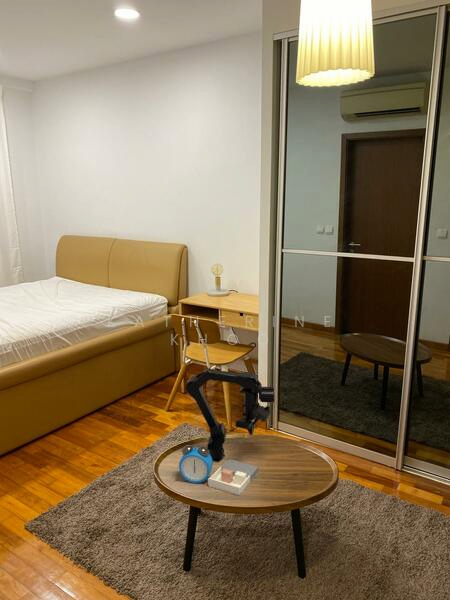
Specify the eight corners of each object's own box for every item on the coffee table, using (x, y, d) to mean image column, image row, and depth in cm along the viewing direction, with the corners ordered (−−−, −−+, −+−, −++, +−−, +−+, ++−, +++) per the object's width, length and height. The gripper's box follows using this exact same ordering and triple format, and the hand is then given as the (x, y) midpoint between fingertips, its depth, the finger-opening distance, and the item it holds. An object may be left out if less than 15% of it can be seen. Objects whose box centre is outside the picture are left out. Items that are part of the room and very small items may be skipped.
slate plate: (220, 473, 194) (220, 468, 193) (229, 464, 201) (229, 458, 200) (250, 482, 187) (250, 476, 187) (258, 472, 194) (258, 466, 194)
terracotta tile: (224, 477, 190) (221, 480, 188) (224, 468, 189) (221, 471, 187) (233, 480, 188) (230, 483, 186) (232, 471, 187) (230, 474, 185)
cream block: (237, 480, 188) (234, 483, 186) (237, 470, 187) (234, 474, 185) (246, 482, 186) (244, 486, 184) (246, 473, 185) (243, 476, 183)
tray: (208, 486, 185) (208, 478, 185) (220, 473, 194) (220, 466, 193) (239, 495, 179) (239, 487, 178) (250, 482, 187) (250, 474, 187)
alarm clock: (179, 482, 188) (177, 449, 185) (183, 473, 194) (181, 441, 191) (210, 485, 186) (209, 451, 183) (213, 476, 192) (212, 443, 189)
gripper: (258, 413, 187) (259, 448, 190) (276, 396, 203) (276, 429, 206) (234, 408, 192) (235, 442, 195) (253, 392, 208) (253, 424, 211)
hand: (251, 434), depth 202 cm, fingers closed
